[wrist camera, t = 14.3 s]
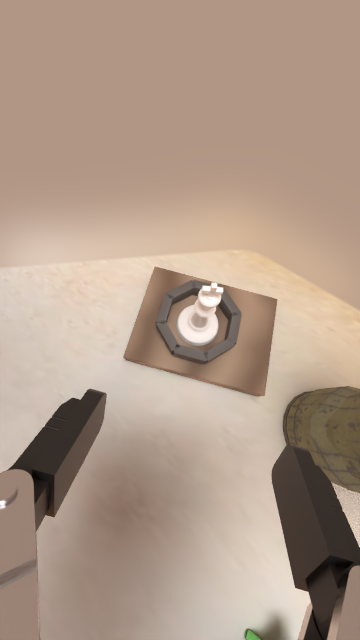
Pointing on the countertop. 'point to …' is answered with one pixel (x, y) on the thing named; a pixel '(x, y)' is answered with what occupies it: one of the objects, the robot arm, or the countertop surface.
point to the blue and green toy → (251, 636)
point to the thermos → (328, 431)
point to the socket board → (218, 355)
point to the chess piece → (200, 317)
